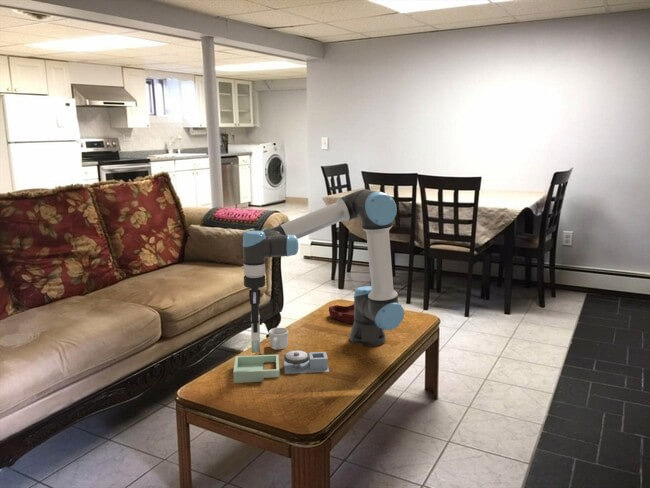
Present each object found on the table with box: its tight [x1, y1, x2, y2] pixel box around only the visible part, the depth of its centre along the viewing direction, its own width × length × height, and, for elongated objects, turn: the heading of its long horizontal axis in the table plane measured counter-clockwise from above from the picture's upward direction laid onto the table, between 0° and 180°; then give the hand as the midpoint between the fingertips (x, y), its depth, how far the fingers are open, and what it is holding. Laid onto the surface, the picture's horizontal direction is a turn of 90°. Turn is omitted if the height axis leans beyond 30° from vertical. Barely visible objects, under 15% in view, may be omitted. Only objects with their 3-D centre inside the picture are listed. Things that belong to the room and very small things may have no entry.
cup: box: [268, 327, 289, 350], centre depth 216 cm, size 11×8×8 cm
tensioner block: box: [283, 350, 330, 375], centre depth 199 cm, size 16×11×7 cm
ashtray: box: [328, 303, 354, 325], centre depth 254 cm, size 18×16×5 cm
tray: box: [232, 354, 280, 384], centre depth 196 cm, size 16×14×4 cm
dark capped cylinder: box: [250, 315, 261, 354], centre depth 193 cm, size 3×3×15 cm
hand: (255, 338), depth 194 cm, fingers closed on dark capped cylinder, 3 cm apart
